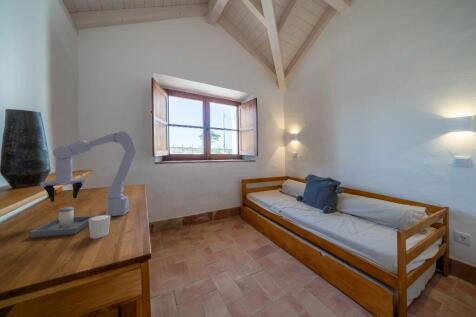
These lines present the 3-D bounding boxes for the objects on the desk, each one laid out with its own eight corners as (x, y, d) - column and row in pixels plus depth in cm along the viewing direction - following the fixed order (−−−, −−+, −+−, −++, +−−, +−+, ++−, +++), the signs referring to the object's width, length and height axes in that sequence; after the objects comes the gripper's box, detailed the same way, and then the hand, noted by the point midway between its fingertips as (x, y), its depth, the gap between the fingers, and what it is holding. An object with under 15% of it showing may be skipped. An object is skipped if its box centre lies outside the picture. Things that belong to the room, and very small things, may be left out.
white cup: (85, 240, 62) (85, 222, 62) (91, 232, 68) (91, 215, 68) (108, 237, 65) (108, 219, 65) (111, 229, 71) (112, 213, 71)
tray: (95, 220, 79) (95, 215, 79) (75, 234, 66) (75, 228, 66) (58, 223, 76) (58, 217, 76) (29, 238, 62) (29, 231, 62)
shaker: (76, 224, 74) (76, 206, 73) (68, 228, 69) (68, 210, 69) (64, 224, 73) (64, 206, 72) (55, 229, 68) (55, 210, 68)
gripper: (80, 170, 88) (80, 195, 88) (38, 172, 75) (38, 201, 76) (86, 171, 84) (86, 197, 85) (43, 173, 72) (43, 204, 72)
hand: (64, 199), depth 80 cm, fingers open, 7 cm apart
